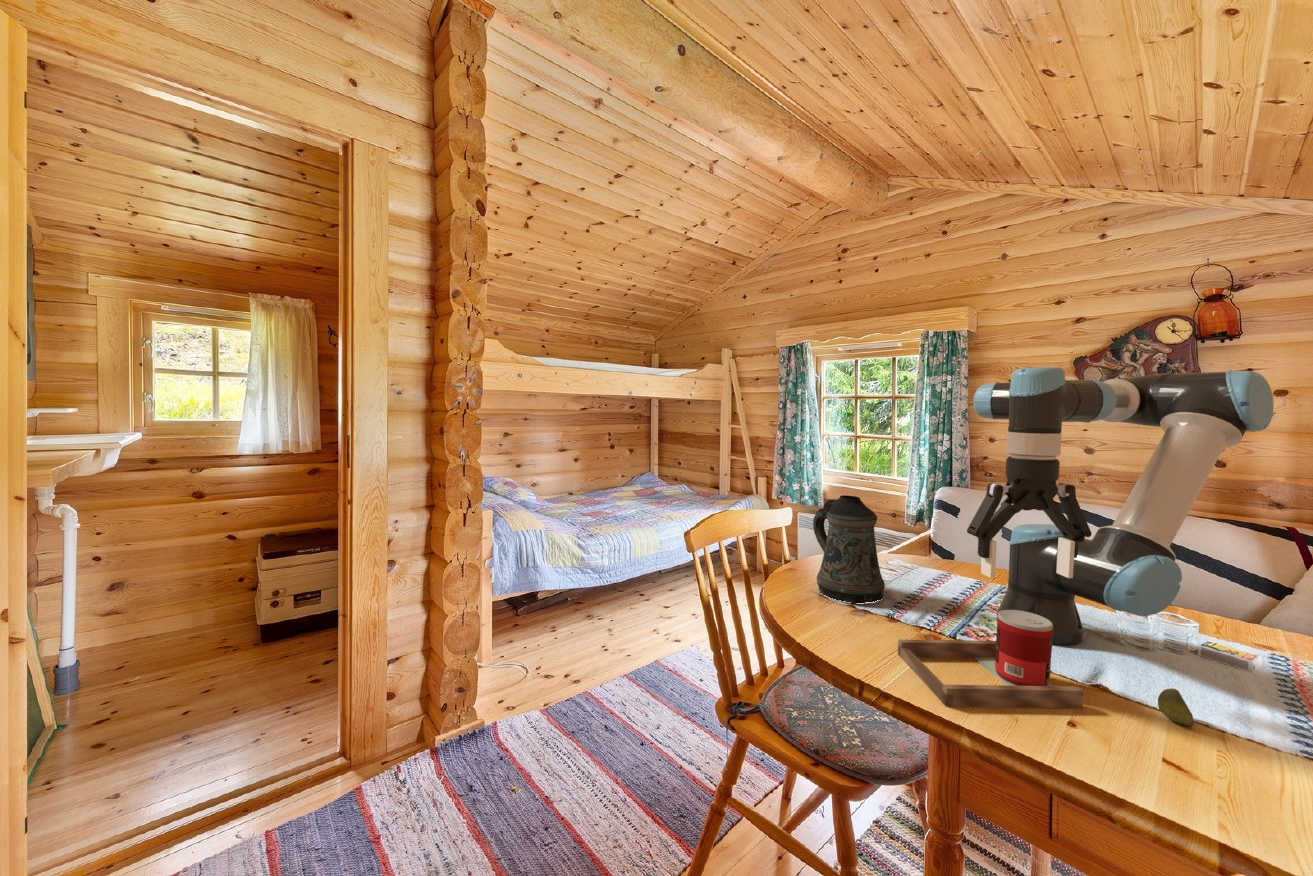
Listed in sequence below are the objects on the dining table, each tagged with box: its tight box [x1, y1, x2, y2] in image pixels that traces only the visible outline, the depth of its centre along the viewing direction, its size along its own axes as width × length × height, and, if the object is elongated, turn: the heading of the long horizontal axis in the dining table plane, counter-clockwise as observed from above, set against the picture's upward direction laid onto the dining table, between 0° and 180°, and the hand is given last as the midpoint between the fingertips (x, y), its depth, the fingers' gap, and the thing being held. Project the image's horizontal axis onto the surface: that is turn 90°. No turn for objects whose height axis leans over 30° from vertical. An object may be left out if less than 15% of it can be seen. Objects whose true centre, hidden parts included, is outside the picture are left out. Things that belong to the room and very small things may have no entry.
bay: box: [897, 638, 1085, 710], centre depth 90 cm, size 22×17×3 cm
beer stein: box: [812, 494, 886, 603], centre depth 131 cm, size 16×19×25 cm
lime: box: [1157, 687, 1195, 727], centre depth 79 cm, size 4×5×5 cm
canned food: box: [995, 610, 1053, 686], centre depth 90 cm, size 8×8×11 cm
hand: (1026, 575), depth 90 cm, fingers open, 13 cm apart
